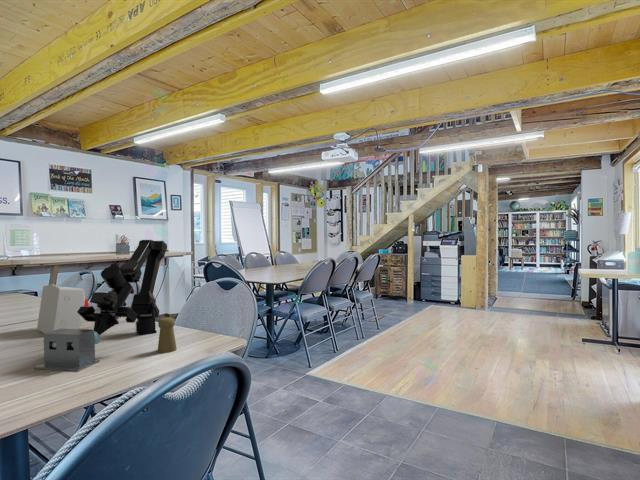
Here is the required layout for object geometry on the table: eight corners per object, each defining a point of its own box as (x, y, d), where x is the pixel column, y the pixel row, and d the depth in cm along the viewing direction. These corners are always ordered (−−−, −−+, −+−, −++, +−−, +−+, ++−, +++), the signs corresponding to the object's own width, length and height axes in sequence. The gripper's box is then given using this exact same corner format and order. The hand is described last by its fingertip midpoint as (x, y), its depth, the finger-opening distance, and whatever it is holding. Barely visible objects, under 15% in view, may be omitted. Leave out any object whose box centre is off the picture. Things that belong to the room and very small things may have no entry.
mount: (57, 359, 118) (56, 328, 118) (99, 361, 116) (98, 329, 116) (34, 368, 110) (33, 335, 110) (78, 371, 108) (77, 336, 108)
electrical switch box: (92, 333, 159) (98, 286, 162) (52, 336, 147) (59, 285, 149) (75, 329, 167) (81, 284, 169) (36, 331, 155) (43, 283, 157)
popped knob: (87, 344, 120) (87, 330, 120) (99, 344, 119) (99, 331, 119) (67, 352, 112) (66, 337, 112) (80, 352, 111) (79, 337, 111)
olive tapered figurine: (180, 348, 129) (179, 316, 128) (168, 353, 123) (167, 320, 123) (166, 346, 130) (165, 315, 130) (153, 352, 125) (152, 319, 125)
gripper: (80, 282, 126) (53, 322, 116) (130, 282, 123) (106, 323, 112) (99, 301, 134) (74, 340, 123) (146, 302, 131) (125, 342, 120)
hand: (94, 336), depth 120 cm, fingers closed, pressing on popped knob
